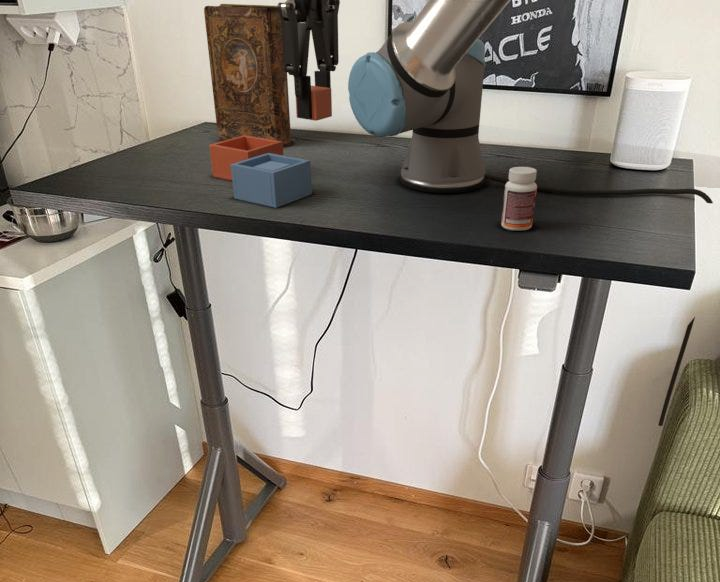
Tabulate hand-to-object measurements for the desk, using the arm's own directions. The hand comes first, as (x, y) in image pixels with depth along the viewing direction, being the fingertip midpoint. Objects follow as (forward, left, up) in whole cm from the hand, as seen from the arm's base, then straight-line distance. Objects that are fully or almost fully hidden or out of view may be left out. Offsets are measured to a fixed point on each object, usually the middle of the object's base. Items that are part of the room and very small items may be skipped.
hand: (314, 114), depth 129 cm
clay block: (0, 0, 0) cm, 0 cm away
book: (+30, -16, -11) cm, 35 cm away
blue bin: (0, +13, -11) cm, 17 cm away
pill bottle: (-42, +4, -11) cm, 44 cm away
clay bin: (+13, +5, -11) cm, 17 cm away
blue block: (-1, +13, -10) cm, 16 cm away
